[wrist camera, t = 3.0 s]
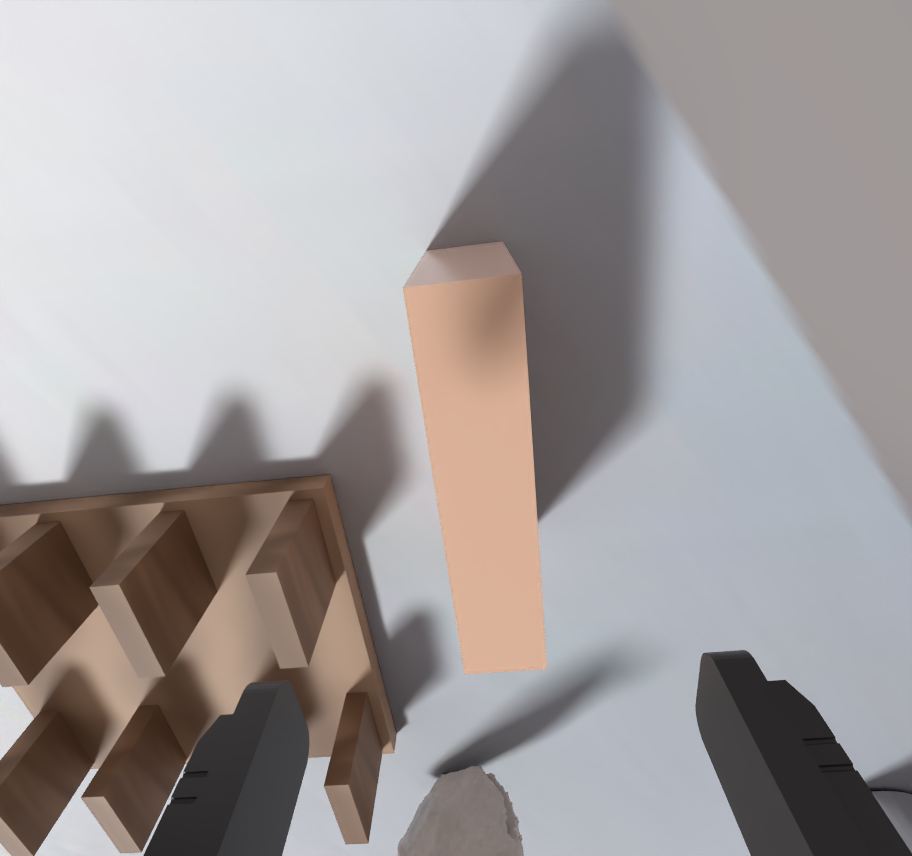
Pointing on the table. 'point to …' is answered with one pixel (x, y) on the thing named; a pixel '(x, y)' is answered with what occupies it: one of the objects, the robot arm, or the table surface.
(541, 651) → the peach rectangular block
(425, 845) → the stone tool
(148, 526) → the drying rack
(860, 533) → the table surface
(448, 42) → the table surface
